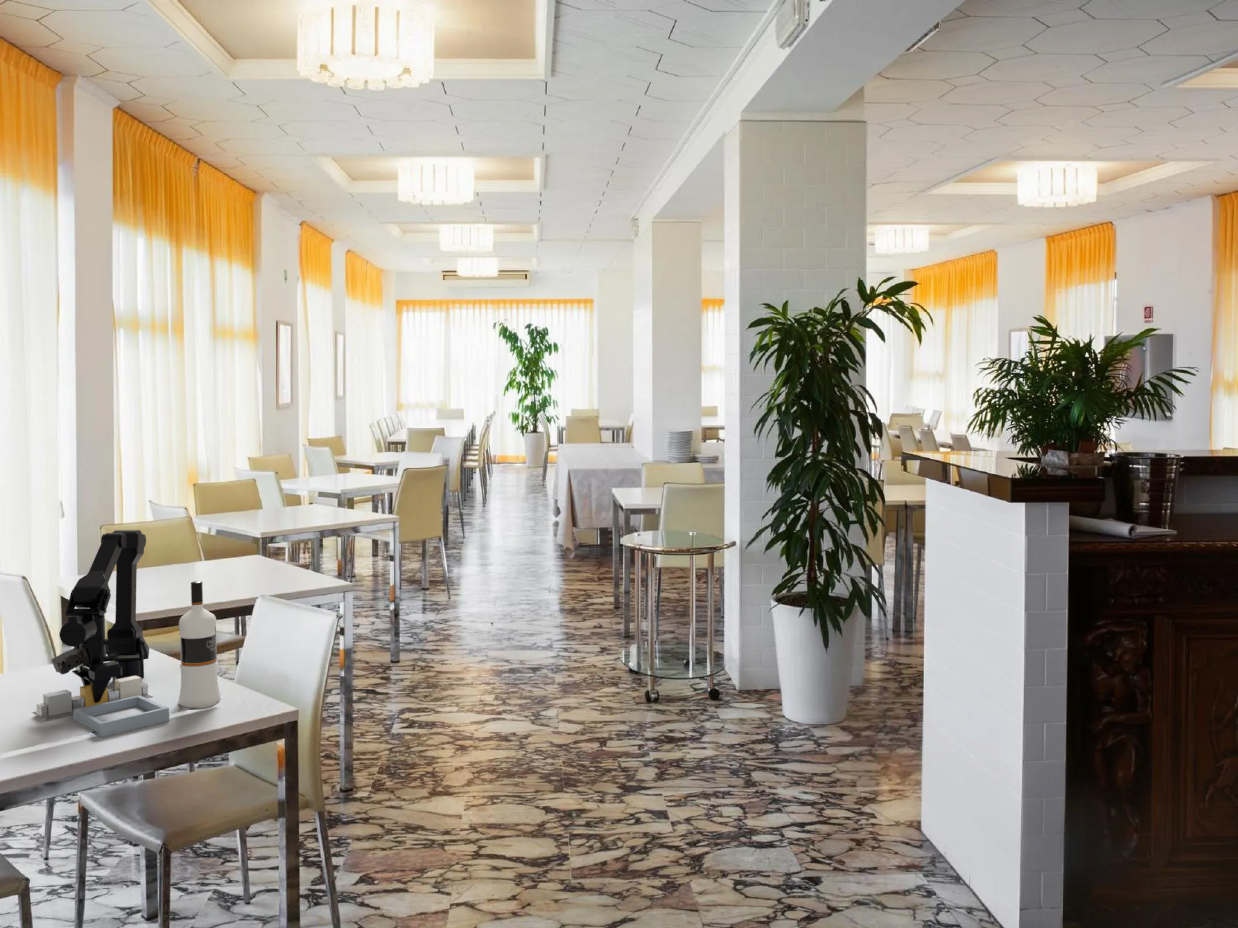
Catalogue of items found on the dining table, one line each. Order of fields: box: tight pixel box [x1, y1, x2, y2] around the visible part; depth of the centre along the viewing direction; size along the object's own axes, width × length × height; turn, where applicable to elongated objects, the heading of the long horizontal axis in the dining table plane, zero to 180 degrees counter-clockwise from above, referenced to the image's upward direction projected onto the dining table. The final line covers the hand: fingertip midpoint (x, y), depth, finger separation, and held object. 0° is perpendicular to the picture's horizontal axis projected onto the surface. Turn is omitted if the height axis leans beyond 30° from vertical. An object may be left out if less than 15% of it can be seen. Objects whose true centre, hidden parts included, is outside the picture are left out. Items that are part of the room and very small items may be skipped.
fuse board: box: [31, 681, 154, 721], centre depth 241 cm, size 24×9×4 cm, turn 139°
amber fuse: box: [79, 685, 108, 707], centre depth 241 cm, size 5×3×4 cm, turn 139°
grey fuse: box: [42, 689, 73, 716], centre depth 235 cm, size 5×3×4 cm, turn 139°
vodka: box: [178, 580, 221, 711], centre depth 243 cm, size 9×9×30 cm
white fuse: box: [114, 676, 142, 700], centre depth 247 cm, size 5×3×4 cm, turn 139°
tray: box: [72, 695, 170, 738], centre depth 231 cm, size 15×15×3 cm
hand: (94, 700), depth 241 cm, fingers closed on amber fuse, 3 cm apart
